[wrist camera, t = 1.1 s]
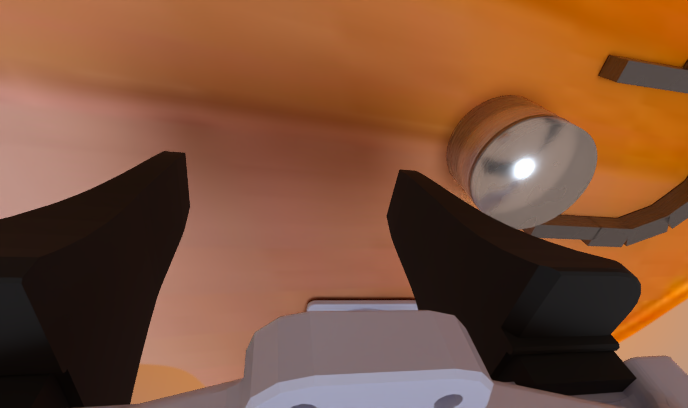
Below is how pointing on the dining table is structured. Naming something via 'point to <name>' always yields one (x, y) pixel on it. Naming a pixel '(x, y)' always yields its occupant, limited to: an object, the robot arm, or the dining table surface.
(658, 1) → the dining table surface
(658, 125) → the dining table surface
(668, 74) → the u-shaped bracket
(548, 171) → the cylinder
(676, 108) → the dining table surface
